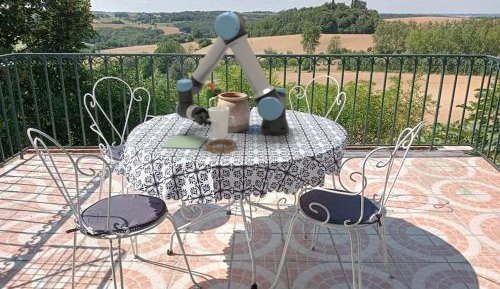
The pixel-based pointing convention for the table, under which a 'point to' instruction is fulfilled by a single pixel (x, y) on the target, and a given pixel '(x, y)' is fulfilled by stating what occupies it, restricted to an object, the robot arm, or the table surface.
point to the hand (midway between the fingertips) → (225, 122)
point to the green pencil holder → (212, 93)
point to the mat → (185, 142)
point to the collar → (220, 149)
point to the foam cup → (219, 121)
